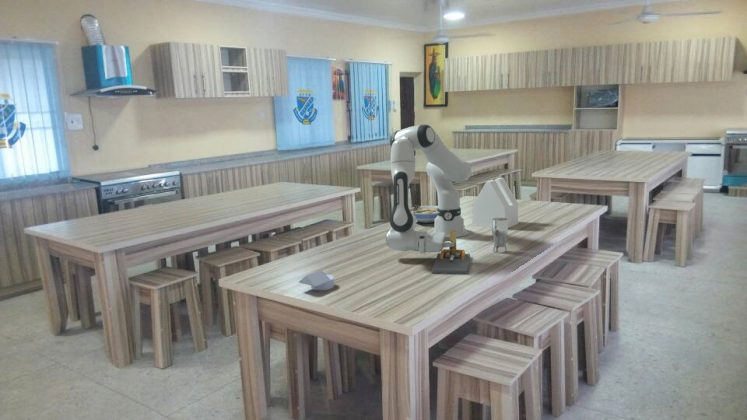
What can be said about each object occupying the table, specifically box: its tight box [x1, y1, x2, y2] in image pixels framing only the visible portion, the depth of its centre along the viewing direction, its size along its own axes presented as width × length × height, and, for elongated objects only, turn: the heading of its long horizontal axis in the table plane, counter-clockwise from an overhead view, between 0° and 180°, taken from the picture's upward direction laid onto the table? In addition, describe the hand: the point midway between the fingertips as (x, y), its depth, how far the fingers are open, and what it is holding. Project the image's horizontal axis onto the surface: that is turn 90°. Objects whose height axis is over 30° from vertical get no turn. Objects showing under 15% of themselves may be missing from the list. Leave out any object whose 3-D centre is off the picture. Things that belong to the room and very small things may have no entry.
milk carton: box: [471, 177, 519, 229], centre depth 297 cm, size 19×15×25 cm
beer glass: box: [491, 218, 509, 254], centre depth 245 cm, size 7×7×15 cm
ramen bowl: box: [409, 203, 438, 224], centre depth 312 cm, size 25×23×8 cm
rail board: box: [431, 248, 471, 275], centre depth 230 cm, size 24×14×4 cm, turn 168°
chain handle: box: [446, 230, 460, 261], centre depth 233 cm, size 12×6×11 cm, turn 168°
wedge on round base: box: [298, 269, 335, 291], centre depth 208 cm, size 9×7×13 cm
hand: (454, 241), depth 236 cm, fingers open, 7 cm apart
